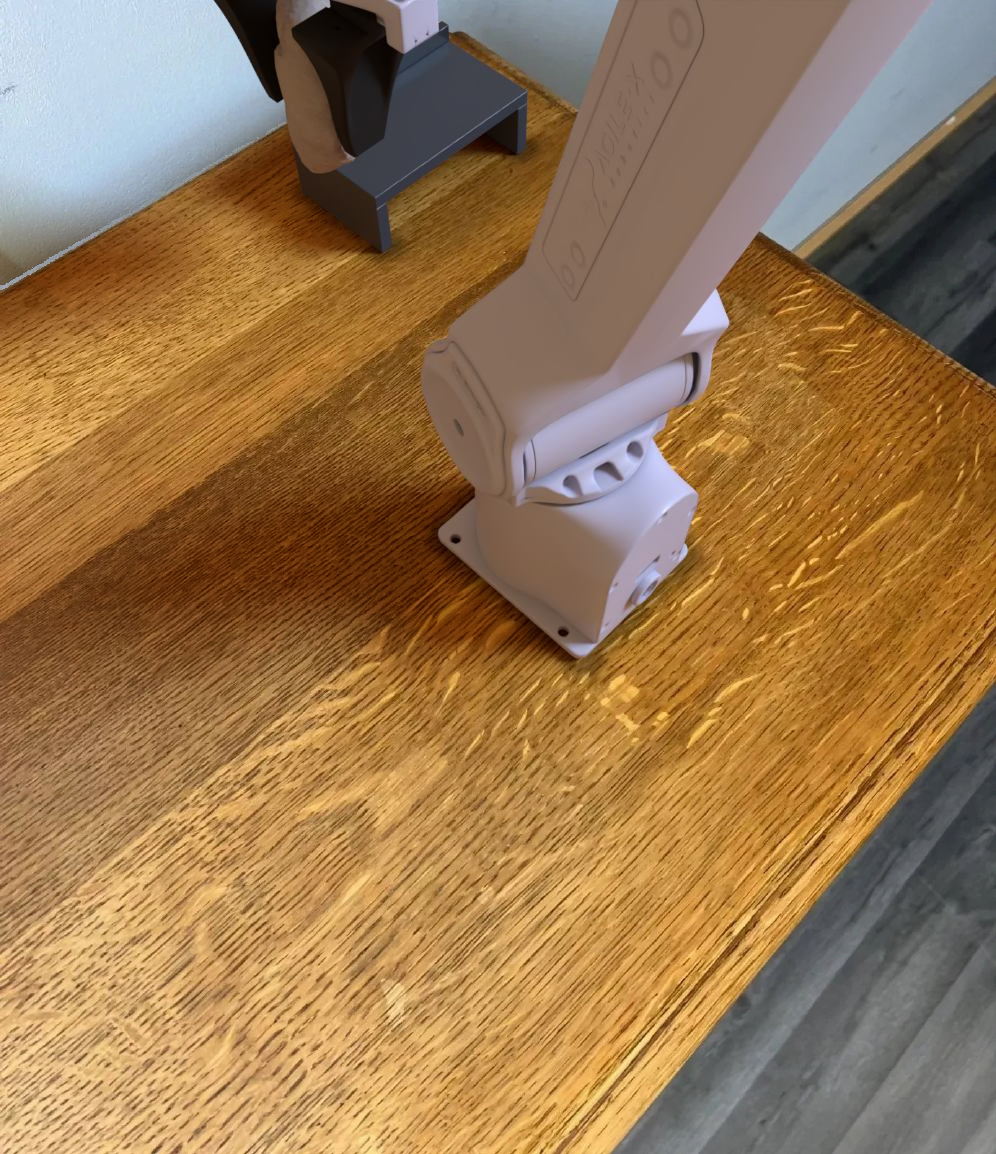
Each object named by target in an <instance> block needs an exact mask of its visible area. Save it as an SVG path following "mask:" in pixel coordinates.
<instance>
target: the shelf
mask: <svg viewBox="0 0 996 1154" xmlns="http://www.w3.org/2000/svg"><path fill="white" fill-rule="evenodd" d="M438 24H439V31H438V32H436V33H435V34H433V35H432V36H430V37H429V38H428V39H427V40H425V41H424V42H422V43H421V44H419V45H418V46H416V47H414V48H412V49H411V50H409V51H408V52H406V53H405V54H404V56H403V58H402V61H401V63H400V66H399V69H398V72H397V76H396V79H395V83H394V87H393V91H392V96H391V101H390V106H389V112H388V118H387V124H386V130H385V136H384V139H382V140H381V141H379V142H378V143H376V144H375V145H374V146H372V147H371V148H369V149H368V150H366V151H365V152H363V153H362V154H361V155H359V156H358V157H355V159H354V160H353V161H352V162H351V163H348V164H345V165H341V166H340V167H339V168H337V169H335V170H333V171H331V172H328V173H313V172H311V171H310V170H309V169H308V168H307V167H306V166H305V165H304V164H303V163H302V161H301V158H300V157H299V154H298V152H297V151H296V148H295V146H294V144H293V142H292V140H291V137H290V136H289V137H290V142H291V146H292V151H293V155H294V156H293V157H294V161H295V165H296V169H297V175H298V180H299V184H300V189H301V192H302V194H304V195H305V196H306V197H307V198H309V199H310V200H312V201H313V202H314V203H316V204H317V205H318V206H319V207H321V208H322V209H323V210H325V211H326V212H327V213H328V214H330V215H331V216H333V217H334V218H336V219H337V220H338V221H339V222H340V223H342V224H343V225H344V226H346V227H347V228H349V229H350V230H351V231H352V232H354V234H357V235H358V236H359V237H360V238H362V239H363V240H365V241H366V242H367V243H368V244H370V245H371V246H372V247H374V248H375V249H376V250H377V251H379V252H380V253H381V254H383V253H385V252H386V251H388V250H389V249H390V248H392V247H393V241H392V232H391V224H390V216H389V209H388V208H389V207H388V202H389V201H390V200H392V199H393V198H394V197H396V196H398V195H399V194H401V193H402V192H403V191H404V190H406V189H407V188H409V187H410V186H412V185H413V184H414V183H416V182H417V181H419V180H420V179H422V178H423V177H425V176H426V175H427V174H429V173H430V172H431V171H433V170H434V169H436V168H437V167H438V166H440V165H442V164H443V163H444V162H445V161H447V160H448V159H450V158H451V157H453V156H454V155H456V154H457V153H458V152H460V151H461V150H463V149H464V148H465V147H467V146H469V145H470V144H471V143H472V142H474V141H475V140H476V139H478V138H480V137H481V136H482V135H485V134H486V135H487V136H489V137H490V138H491V139H493V140H495V141H496V142H498V143H499V144H501V145H502V146H503V147H504V148H506V149H508V150H510V151H511V152H512V153H514V154H515V155H519V154H521V153H522V152H523V151H524V150H526V148H527V130H528V129H527V124H528V90H527V89H525V88H524V87H522V86H521V85H519V84H518V83H516V82H515V81H513V80H511V79H510V78H508V77H507V76H505V75H504V74H502V73H501V72H499V71H497V70H496V69H494V68H492V67H491V66H490V65H488V64H487V63H485V62H483V61H482V60H480V59H478V58H477V57H475V56H474V55H473V54H471V53H469V52H468V51H466V50H465V49H463V48H462V47H460V46H458V45H457V44H455V43H454V42H452V41H451V40H450V26H449V24H448V23H446V22H445V21H443V20H441V21H438Z"/></svg>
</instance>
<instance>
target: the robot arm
mask: <svg viewBox="0 0 996 1154" xmlns="http://www.w3.org/2000/svg"><path fill="white" fill-rule="evenodd" d="M329 1H330V7H329V8H327V7H325V8H323V9H322V10H320V11H318V12H317V13H315V14H313V15H312V16H310V17H309V18H307V19H305V20H304V21H302V22H300V23H299V24H297V25H296V26H294V27H292V29H291V32H292V37H293V39H294V40H295V41H296V42H297V43H298V45H299V46H300V47H301V49H302V50H303V51H304V53H305V54H306V55H307V57H308V59H309V60H310V62H311V64H312V65H313V67H314V69H315V71H316V73H317V75H318V77H319V79H320V81H321V83H322V86H323V88H324V91H325V93H326V96H327V100H328V103H329V107H330V111H331V115H332V119H333V122H334V126H335V130H336V133H337V136H338V138H339V140H340V143H341V145H342V147H343V149H344V151H345V152H347V153H348V154H349V155H351V156H352V157H358V156H359V155H361V154H362V153H363V152H365V151H366V150H368V149H369V148H371V147H372V146H374V145H375V144H376V143H378V142H379V141H381V140H382V139H384V136H385V130H386V124H387V118H388V112H389V106H390V101H391V96H392V91H393V87H394V83H395V79H396V76H397V72H398V69H399V66H400V63H401V61H402V58H403V56H404V54H405V53H406V52H408V51H409V50H411V49H412V48H414V47H416V46H418V45H419V44H421V43H422V42H424V41H425V40H427V39H428V38H429V37H430V36H432V35H433V34H435V33H436V32H438V31H439V24H438V23H439V11H438V10H439V8H438V0H329ZM213 2H214V3H215V5H216V6H217V7H218V9H219V10H220V12H221V13H222V14H223V16H224V18H225V19H226V21H227V22H228V24H229V26H230V28H231V29H232V31H233V32H234V34H235V36H236V38H237V40H238V42H239V43H240V45H241V47H242V49H243V51H244V53H245V55H246V56H247V59H248V61H249V63H250V65H251V67H252V69H253V71H254V73H255V74H256V77H257V79H258V81H259V83H260V84H261V87H262V88H263V90H264V91H265V93H266V95H267V97H268V98H269V99H271V100H272V101H273V102H275V103H276V104H279V103H280V102H281V101H284V99H283V96H282V92H281V88H280V85H279V81H278V77H277V72H276V68H275V55H274V50H275V49H276V47H277V45H278V44H280V39H279V37H278V31H277V21H276V4H277V0H213ZM933 2H935V0H617V3H616V5H615V8H614V11H613V13H612V17H611V19H610V22H609V25H608V26H607V27H608V28H607V30H606V34H605V36H604V39H603V41H602V44H601V47H600V50H599V52H598V55H597V57H596V58H597V59H596V61H595V64H594V67H593V70H592V72H591V75H590V77H589V81H588V83H587V86H586V88H585V92H584V95H583V97H582V101H581V103H580V106H579V109H578V111H577V114H576V116H575V120H574V123H573V125H572V128H571V130H570V133H569V136H568V139H567V142H566V144H565V147H564V149H563V153H562V156H561V158H560V162H559V165H558V167H557V169H556V172H555V175H554V178H553V181H552V184H551V186H550V189H549V192H548V194H547V197H546V200H545V203H544V206H543V208H542V211H541V214H540V217H539V220H538V222H537V226H536V228H535V231H534V233H533V236H532V239H531V241H530V245H529V247H528V251H527V253H526V256H525V258H524V261H523V264H522V265H521V266H519V268H518V269H516V270H515V271H514V272H513V273H512V274H510V275H509V276H508V277H507V278H506V279H504V280H503V281H501V283H500V284H498V285H497V286H496V287H494V288H493V289H492V290H491V291H489V292H488V293H487V294H485V295H484V296H483V297H482V298H480V300H478V301H477V302H476V303H474V304H473V305H472V306H471V307H470V308H468V309H467V310H466V311H465V312H464V313H462V314H461V315H459V317H457V318H456V319H455V320H454V321H453V322H452V323H451V324H450V326H449V329H448V332H447V336H446V338H441V339H438V340H435V341H433V342H432V343H430V344H429V345H428V346H427V347H426V349H425V351H424V356H423V362H422V367H421V370H420V386H421V392H422V396H423V400H424V403H425V406H426V408H427V411H428V415H429V417H430V419H431V422H432V424H433V426H434V429H435V431H436V433H437V436H438V437H439V439H440V441H441V444H442V445H443V447H444V449H445V450H446V452H447V454H448V456H449V457H450V458H451V460H452V462H453V464H454V465H455V467H456V468H457V469H458V470H459V472H460V473H461V475H462V476H463V477H464V478H465V480H466V481H468V483H469V484H470V485H471V486H473V487H474V498H472V499H471V500H470V501H468V502H467V503H466V504H465V505H464V506H463V507H461V509H460V510H458V511H457V512H456V513H455V514H454V515H453V516H452V517H450V518H449V519H448V520H447V521H446V522H445V523H443V524H442V525H441V526H440V528H439V529H438V532H437V536H438V540H439V541H440V543H441V544H442V545H443V546H445V547H446V548H447V549H448V550H449V551H450V552H451V553H452V554H454V555H455V556H456V557H457V558H458V559H459V560H461V561H462V562H463V564H465V565H466V566H468V567H469V568H470V569H471V570H472V571H473V572H474V573H476V574H477V575H478V577H480V578H481V579H483V580H484V581H485V583H487V584H488V585H490V586H491V587H492V588H493V589H494V590H495V591H497V593H499V594H500V595H501V596H502V597H504V599H506V600H507V602H509V603H510V604H512V606H514V607H515V608H516V609H517V610H518V611H520V613H521V614H523V615H524V616H526V618H527V619H528V620H530V621H531V622H532V623H533V624H534V625H535V626H536V627H538V629H540V630H541V631H542V632H544V633H545V634H546V635H547V636H548V637H550V639H552V640H553V641H554V642H555V643H556V644H558V645H559V646H560V647H561V648H563V650H565V651H566V652H567V654H569V655H570V656H572V657H573V658H575V659H578V660H579V659H584V658H586V657H587V656H589V655H590V653H592V651H594V649H595V648H597V646H598V645H599V644H601V643H602V642H603V640H604V639H605V638H606V637H607V636H609V635H610V634H611V633H612V631H614V630H615V628H616V627H618V626H619V625H620V624H621V623H622V622H623V620H624V619H625V618H626V617H627V616H628V615H629V614H631V613H632V611H633V610H635V609H636V608H637V607H638V606H641V605H642V604H643V603H644V602H645V601H646V600H647V599H648V598H649V597H650V596H651V595H652V593H653V592H654V591H655V590H656V588H658V585H660V583H662V581H664V579H665V578H667V576H669V575H670V573H671V572H672V571H673V570H675V568H676V567H677V566H678V565H679V564H680V563H682V561H683V560H684V559H686V557H687V555H688V552H689V551H688V549H689V548H688V546H687V543H685V541H686V539H687V536H688V533H689V531H690V528H691V525H692V522H693V519H694V516H695V513H696V510H697V508H698V503H699V495H698V492H697V491H696V490H695V489H694V487H692V486H691V485H690V484H689V483H688V482H687V481H685V479H683V478H682V476H680V475H679V474H678V473H677V472H676V471H675V470H674V468H673V467H672V466H671V464H669V462H668V461H667V460H666V459H665V458H664V457H665V456H663V454H662V453H661V451H660V449H659V447H658V445H657V444H656V442H655V440H654V437H655V436H656V435H657V434H658V433H660V432H661V431H663V430H664V429H665V427H666V424H667V420H668V416H669V411H671V410H672V409H674V408H675V409H676V408H680V407H682V406H683V407H684V406H687V405H689V404H691V403H693V402H695V401H697V400H699V398H700V397H701V396H702V395H703V394H704V393H705V392H706V390H707V388H708V385H709V381H710V378H711V373H712V371H711V370H712V362H713V361H712V359H713V353H714V350H715V347H716V345H717V342H718V341H719V339H720V338H721V337H722V335H723V334H724V333H725V332H726V330H727V329H728V328H729V326H730V320H729V317H728V314H727V313H726V312H727V311H726V309H725V307H724V304H723V301H722V299H721V297H720V294H719V292H718V289H717V288H718V287H719V285H720V284H721V283H722V282H723V280H724V278H725V277H726V276H727V275H728V273H729V272H730V271H731V269H732V268H733V267H734V265H735V264H736V262H737V261H738V260H739V259H740V258H741V256H742V255H743V254H744V252H745V251H746V250H747V248H748V247H749V245H750V244H751V243H752V242H753V240H754V239H755V238H756V236H757V235H758V234H759V232H760V231H761V230H762V228H763V227H764V226H765V224H766V223H767V222H768V220H769V219H770V218H771V217H772V215H773V214H774V212H775V211H776V210H777V209H778V207H779V206H780V205H781V203H782V202H783V201H784V200H785V198H786V197H787V195H788V194H789V193H790V191H791V190H792V189H793V188H794V187H795V185H796V183H797V182H798V181H799V180H800V178H801V177H802V175H803V174H804V173H805V171H806V170H807V169H808V168H809V166H810V165H811V163H813V162H814V161H815V158H817V156H818V155H819V154H820V152H821V151H822V149H823V147H824V146H825V145H826V144H827V143H828V141H829V140H830V139H831V137H832V136H833V135H834V133H835V132H836V131H837V129H839V127H840V126H841V124H842V123H843V121H844V120H845V119H846V117H847V116H848V115H849V114H850V112H851V111H852V110H853V109H854V107H855V106H856V104H857V103H858V102H859V100H860V99H861V97H862V96H863V95H864V94H865V92H866V91H867V90H868V88H869V87H870V86H871V85H872V83H873V82H874V80H875V79H876V78H877V76H879V74H880V73H881V71H882V70H883V68H884V67H885V66H886V65H887V63H888V62H889V61H890V60H891V58H892V57H893V55H894V54H895V53H896V51H897V50H898V49H899V48H900V47H901V45H902V44H903V42H904V41H905V40H906V38H907V37H908V36H909V34H910V33H911V31H912V30H913V29H914V28H915V27H916V25H917V24H918V23H919V21H920V20H921V19H922V17H923V16H924V15H925V13H926V12H927V10H929V8H930V6H931V5H932V4H933ZM454 539H458V540H460V541H459V542H457V543H454V542H453V541H452V540H454ZM561 631H565V632H567V633H568V634H567V635H566V636H561V635H560V634H559V632H561Z"/></svg>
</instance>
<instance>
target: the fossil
mask: <svg viewBox="0 0 996 1154" xmlns="http://www.w3.org/2000/svg"><path fill="white" fill-rule="evenodd" d="M325 7H327V8H329V7H330V1H329V0H277V4H276V21H277V31H278V37H279V39H280V44H278V45H277V47H276V49H275V50H274V55H275V68H276V72H277V77H278V81H279V85H280V88H281V92H282V96H283V102H284V110H285V111H284V112H285V118H286V122H287V123H286V125H287V129H288V134H289V137H291V138H290V141H291V140H292V142H293V144H294V146H295V148H296V151H297V152H298V154H299V157H300V158H301V161H302V163H303V164H304V165H305V166H306V167H307V168H308V169H309V170H310V171H311V172H313V173H328V172H331V171H333V170H335V169H337V168H339V167H340V166H341V165H345V164H348V163H351V162H352V161H353V160H354V159H355V157H352V156H351V155H349V154H348V153H347V152H345V151H344V149H343V147H342V145H341V143H340V140H339V138H338V136H337V133H336V130H335V126H334V122H333V119H332V115H331V111H330V107H329V103H328V100H327V96H326V93H325V91H324V88H323V86H322V83H321V81H320V79H319V77H318V75H317V73H316V71H315V69H314V67H313V65H312V64H311V62H310V60H309V59H308V57H307V55H306V54H305V53H304V51H303V50H302V49H301V47H300V46H299V45H298V43H297V42H296V41H295V40H294V39H293V37H292V32H291V29H292V27H294V26H296V25H297V24H299V23H300V22H302V21H304V20H305V19H307V18H309V17H310V16H312V15H313V14H315V13H317V12H318V11H320V10H322V9H323V8H325ZM292 142H291V143H292Z"/></svg>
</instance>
